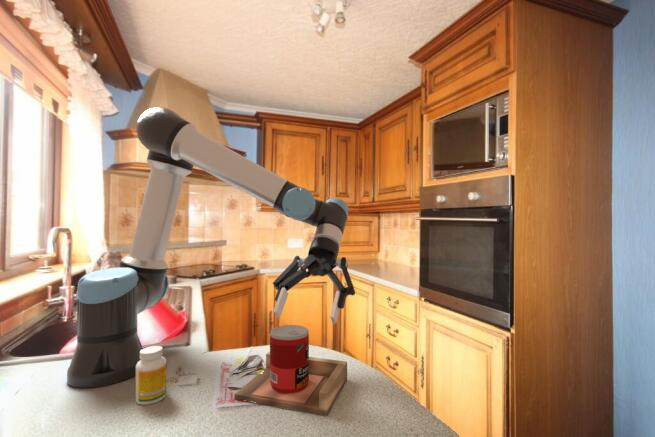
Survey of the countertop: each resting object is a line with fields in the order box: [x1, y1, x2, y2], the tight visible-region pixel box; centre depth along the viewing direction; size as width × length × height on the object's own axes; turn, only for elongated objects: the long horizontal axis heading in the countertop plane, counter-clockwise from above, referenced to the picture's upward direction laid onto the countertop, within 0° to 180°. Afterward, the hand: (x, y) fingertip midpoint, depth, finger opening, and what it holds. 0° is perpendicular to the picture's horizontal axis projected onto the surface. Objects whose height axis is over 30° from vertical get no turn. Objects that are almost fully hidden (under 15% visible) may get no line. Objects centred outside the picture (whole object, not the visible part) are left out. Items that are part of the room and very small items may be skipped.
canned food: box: [269, 324, 310, 393], centre depth 67 cm, size 8×8×11 cm
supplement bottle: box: [134, 345, 167, 406], centre depth 65 cm, size 5×5×10 cm
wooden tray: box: [234, 351, 348, 417], centre depth 68 cm, size 19×14×4 cm
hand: (303, 317), depth 73 cm, fingers open, 13 cm apart
